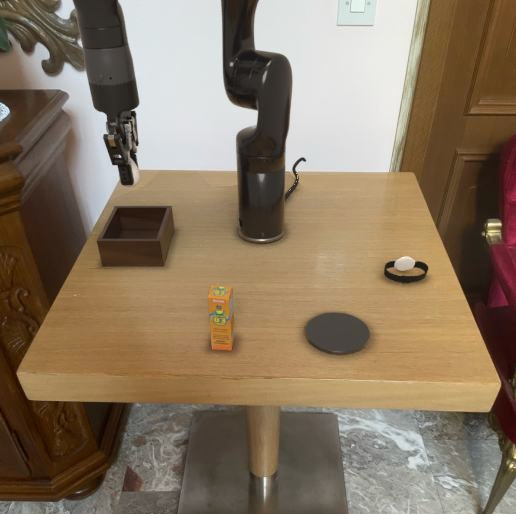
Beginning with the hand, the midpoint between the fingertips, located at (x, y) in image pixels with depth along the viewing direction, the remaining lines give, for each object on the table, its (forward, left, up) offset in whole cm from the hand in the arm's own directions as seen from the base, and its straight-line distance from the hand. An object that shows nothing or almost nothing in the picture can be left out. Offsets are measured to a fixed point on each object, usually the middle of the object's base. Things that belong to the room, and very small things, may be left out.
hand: (130, 179), depth 95 cm
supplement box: (+23, +27, -14) cm, 38 cm away
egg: (0, 0, -1) cm, 1 cm away
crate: (0, 0, -14) cm, 14 cm away
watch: (-5, +51, -14) cm, 53 cm away
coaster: (+15, +43, -14) cm, 47 cm away
